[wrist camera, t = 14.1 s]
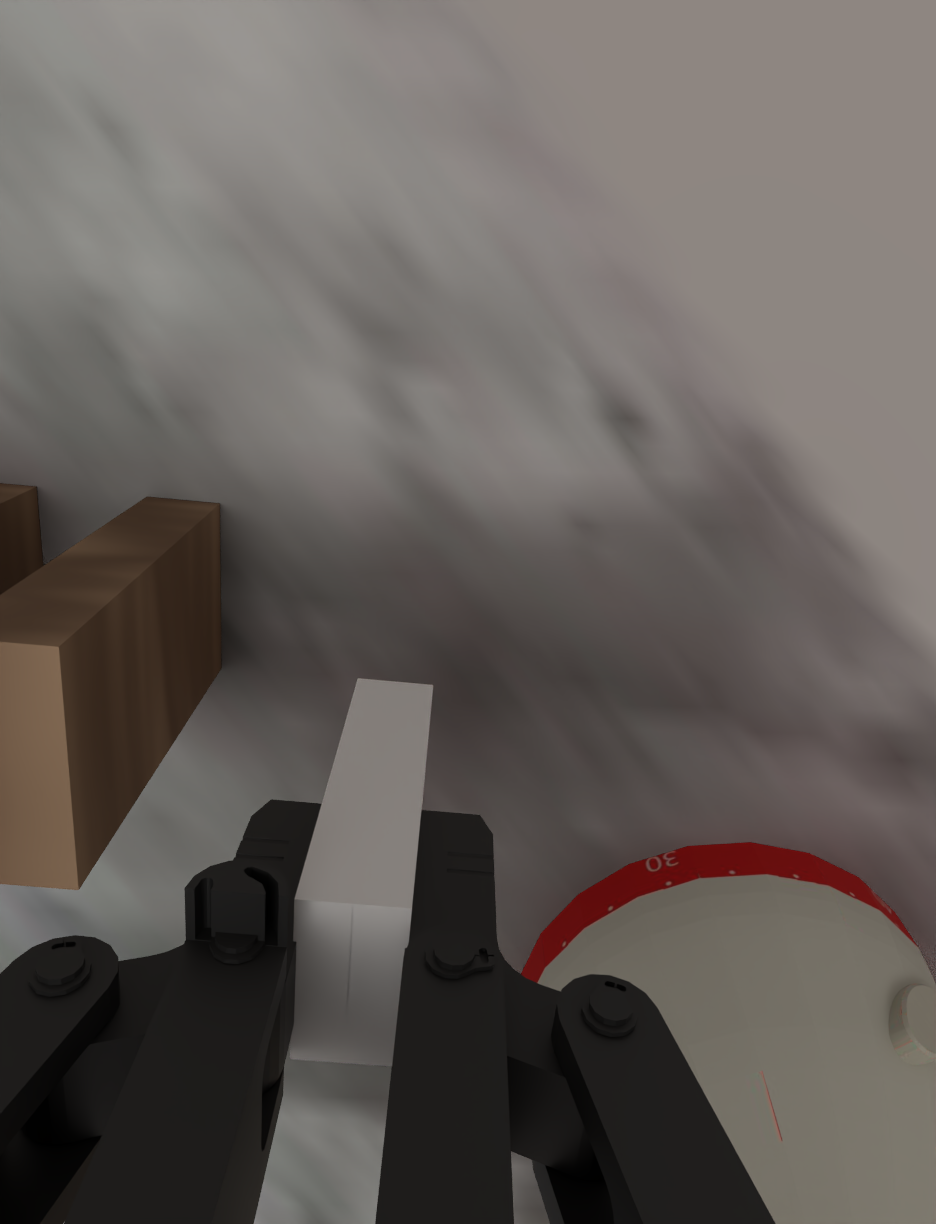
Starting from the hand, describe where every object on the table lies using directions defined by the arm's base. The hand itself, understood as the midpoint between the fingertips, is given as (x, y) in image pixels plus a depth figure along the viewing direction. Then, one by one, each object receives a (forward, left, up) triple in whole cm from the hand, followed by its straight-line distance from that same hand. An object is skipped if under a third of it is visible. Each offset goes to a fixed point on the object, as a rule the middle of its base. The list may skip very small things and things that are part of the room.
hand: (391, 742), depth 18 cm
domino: (+7, 0, -8) cm, 10 cm away
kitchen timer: (-11, +14, -8) cm, 20 cm away
